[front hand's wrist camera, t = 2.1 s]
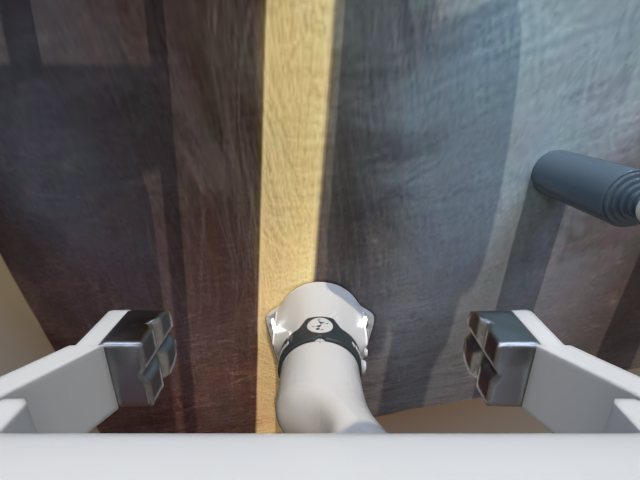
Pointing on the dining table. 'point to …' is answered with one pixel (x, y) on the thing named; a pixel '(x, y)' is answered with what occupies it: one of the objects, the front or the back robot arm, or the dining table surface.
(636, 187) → the bottle
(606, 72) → the dining table surface
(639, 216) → the cap
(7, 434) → the front robot arm
